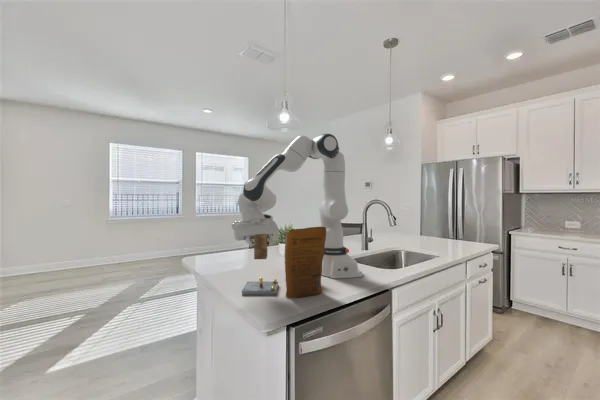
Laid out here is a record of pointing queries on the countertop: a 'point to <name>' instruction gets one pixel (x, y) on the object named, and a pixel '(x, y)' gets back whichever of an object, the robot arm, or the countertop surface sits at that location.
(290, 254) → the pancake mix bag
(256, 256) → the brown wooden block
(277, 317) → the countertop surface
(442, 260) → the countertop surface
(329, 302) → the countertop surface
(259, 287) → the pin plate
